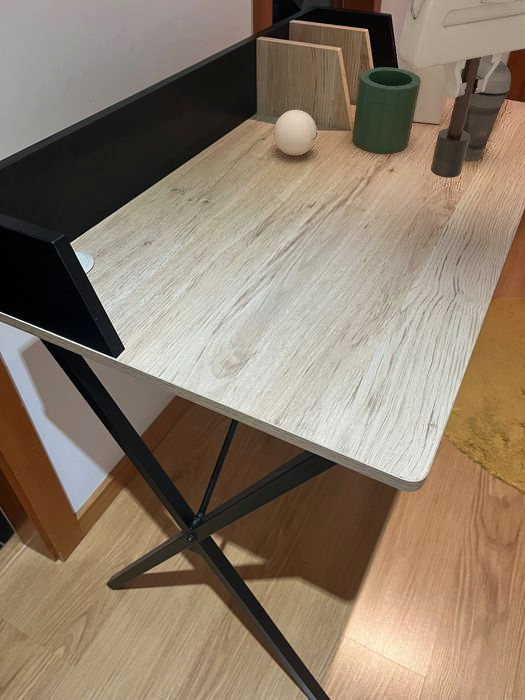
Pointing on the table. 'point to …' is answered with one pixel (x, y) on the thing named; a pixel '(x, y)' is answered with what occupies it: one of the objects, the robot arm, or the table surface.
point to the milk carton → (430, 94)
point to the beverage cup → (486, 110)
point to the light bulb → (295, 132)
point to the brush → (455, 129)
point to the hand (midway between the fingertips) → (464, 93)
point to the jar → (385, 109)
